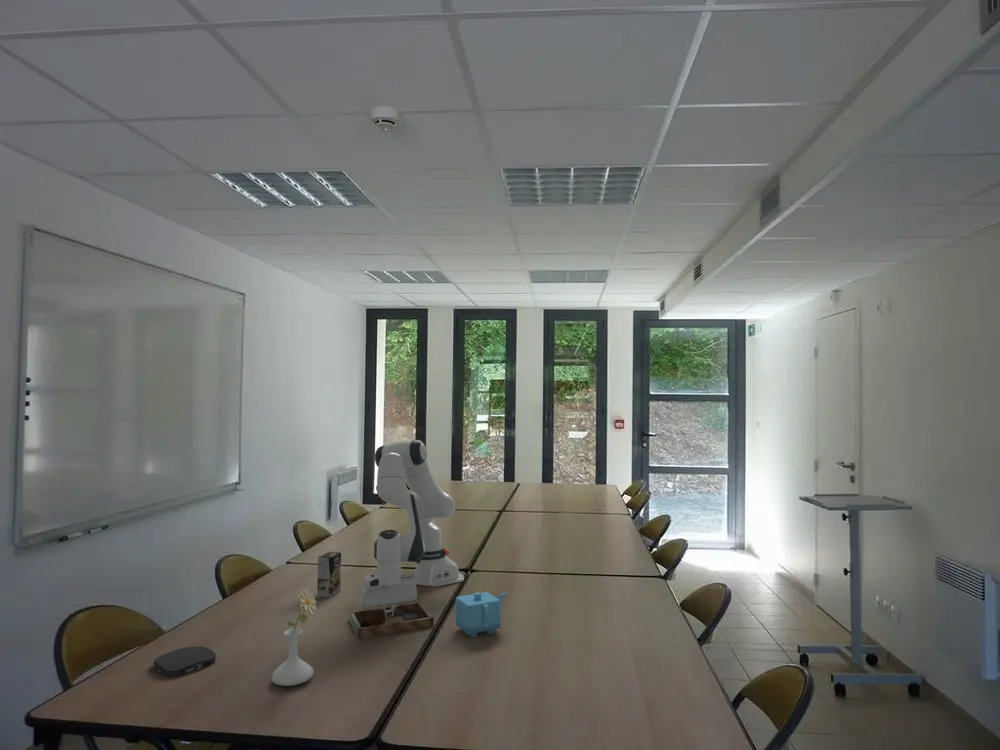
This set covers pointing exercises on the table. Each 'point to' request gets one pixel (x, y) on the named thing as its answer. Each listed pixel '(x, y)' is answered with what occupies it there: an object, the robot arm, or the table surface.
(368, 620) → the brick
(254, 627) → the table surface
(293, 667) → the flower in vase
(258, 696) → the table surface
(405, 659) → the table surface
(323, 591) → the coffee box
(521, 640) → the table surface
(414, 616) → the trap pits
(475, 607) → the teapot
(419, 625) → the box
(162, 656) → the media streaming box
